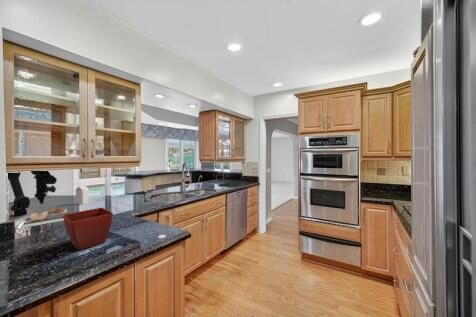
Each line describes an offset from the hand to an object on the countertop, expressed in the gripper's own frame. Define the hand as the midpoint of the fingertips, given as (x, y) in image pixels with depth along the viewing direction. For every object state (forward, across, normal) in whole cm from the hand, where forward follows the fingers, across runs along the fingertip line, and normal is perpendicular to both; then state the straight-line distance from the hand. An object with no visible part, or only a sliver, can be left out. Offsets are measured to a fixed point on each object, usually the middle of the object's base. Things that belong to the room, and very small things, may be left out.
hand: (42, 203), depth 157 cm
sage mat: (+11, -9, -4) cm, 14 cm away
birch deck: (+11, +6, -4) cm, 13 cm away
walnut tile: (+9, +6, -8) cm, 14 cm away
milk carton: (+11, +27, -26) cm, 39 cm away
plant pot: (+11, -77, -25) cm, 82 cm away
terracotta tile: (+10, -6, +2) cm, 12 cm away
